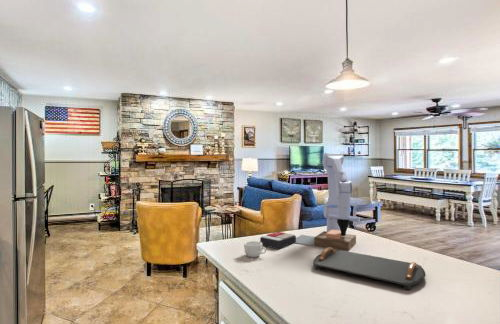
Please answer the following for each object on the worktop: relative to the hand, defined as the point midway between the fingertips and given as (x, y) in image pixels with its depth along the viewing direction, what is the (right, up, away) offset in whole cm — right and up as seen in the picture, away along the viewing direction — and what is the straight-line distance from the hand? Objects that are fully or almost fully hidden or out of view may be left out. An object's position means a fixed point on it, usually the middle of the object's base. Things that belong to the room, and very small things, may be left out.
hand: (343, 235), depth 153 cm
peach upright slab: (-3, -1, +2) cm, 4 cm away
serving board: (-1, -6, -32) cm, 33 cm away
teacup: (-42, -6, -15) cm, 45 cm away
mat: (-16, -5, +10) cm, 19 cm away
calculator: (-31, -5, +3) cm, 31 cm away
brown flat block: (-3, -5, +2) cm, 6 cm away
